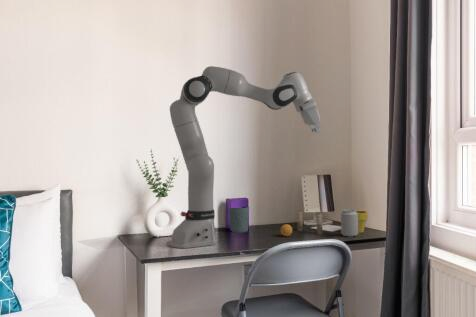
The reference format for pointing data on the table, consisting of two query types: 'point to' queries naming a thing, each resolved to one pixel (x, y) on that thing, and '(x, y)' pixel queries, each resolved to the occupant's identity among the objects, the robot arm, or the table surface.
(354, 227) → the can
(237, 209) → the dark grey cylinder
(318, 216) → the right post
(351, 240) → the table surface
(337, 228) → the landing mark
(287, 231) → the ball
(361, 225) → the plant pot
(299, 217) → the left post
